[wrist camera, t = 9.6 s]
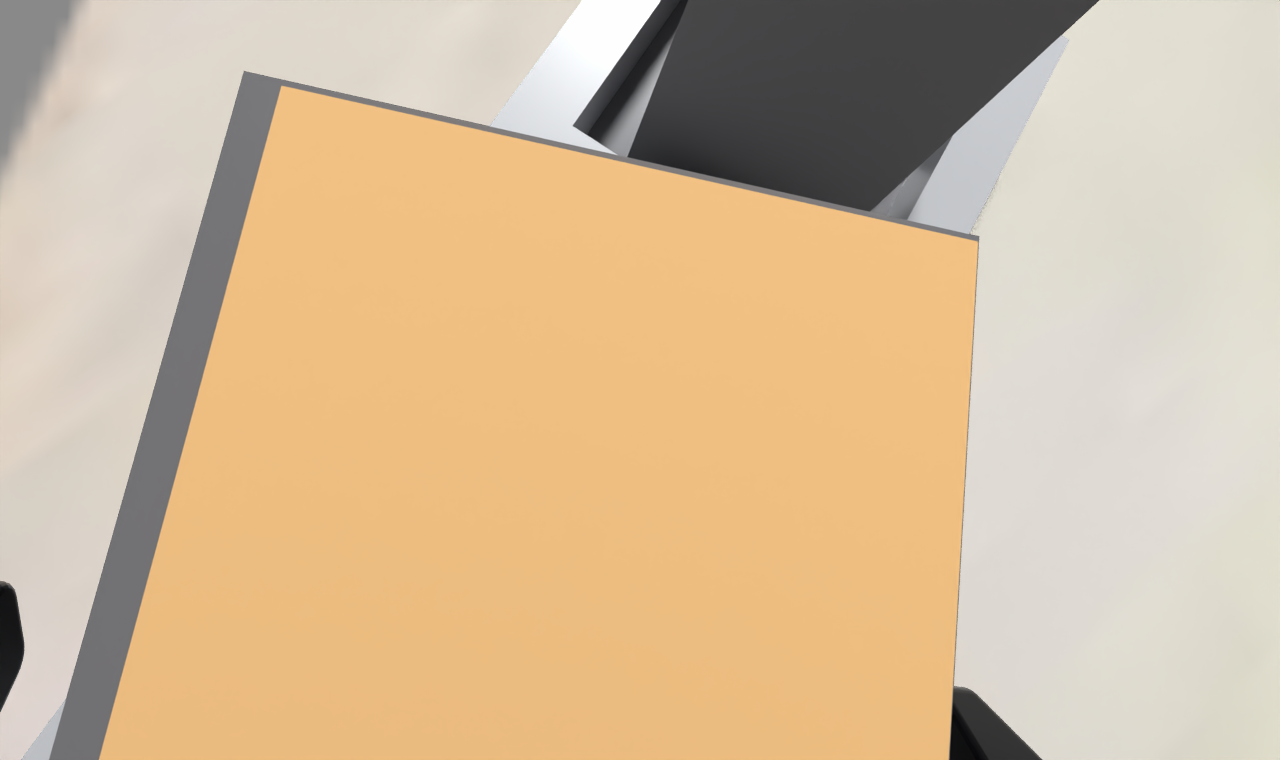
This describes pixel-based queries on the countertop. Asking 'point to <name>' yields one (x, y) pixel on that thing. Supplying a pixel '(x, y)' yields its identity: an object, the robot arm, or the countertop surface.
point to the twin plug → (835, 87)
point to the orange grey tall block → (533, 463)
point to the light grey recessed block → (624, 81)
